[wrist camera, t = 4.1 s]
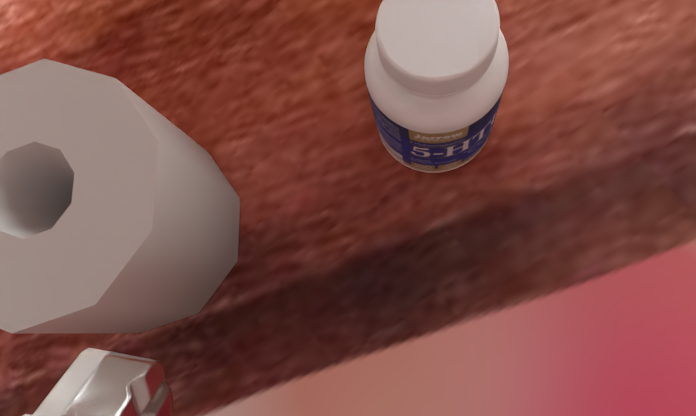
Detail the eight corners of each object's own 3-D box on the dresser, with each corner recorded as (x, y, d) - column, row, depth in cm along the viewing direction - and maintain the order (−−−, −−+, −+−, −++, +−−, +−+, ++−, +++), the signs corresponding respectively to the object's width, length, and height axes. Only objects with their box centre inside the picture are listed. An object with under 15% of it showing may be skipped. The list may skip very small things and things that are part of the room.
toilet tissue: (35, 101, 31) (-114, 15, 22) (270, 169, 28) (201, 101, 20) (-37, 268, 29) (-224, 242, 21) (203, 356, 27) (99, 367, 18)
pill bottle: (414, 196, 27) (405, 132, 18) (357, 104, 28) (323, 4, 20) (516, 136, 27) (554, 43, 18) (453, 47, 28) (462, -80, 20)
